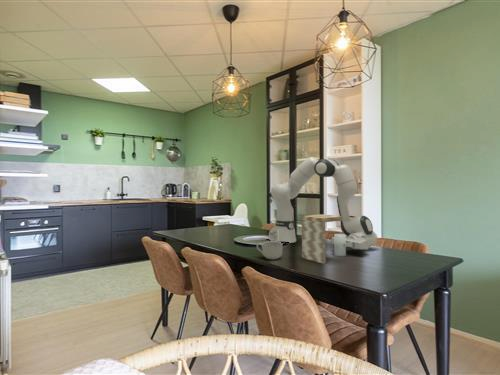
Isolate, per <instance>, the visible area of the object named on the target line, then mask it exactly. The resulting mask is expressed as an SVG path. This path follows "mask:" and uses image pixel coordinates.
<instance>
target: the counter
mask: <svg viewBox="0 0 500 375" xmlns="http://www.w3.org/2000/svg"><path fill="white" fill-rule="evenodd" d="M339 221H340V222H341V221H342V216H340V215H331V214H324V213H321V214H320V213H318V214H308V215H307V214H306V215H301V259H306V260H308V261H312V262H316V263H320V264H323V265H325V264H326V263H327V262H326V223H330V222H339Z"/></svg>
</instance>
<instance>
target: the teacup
mask: <svg viewBox="0 0 500 375" xmlns="http://www.w3.org/2000/svg"><path fill="white" fill-rule="evenodd" d="M283 244H284V243H281V242H277V241H269V240H266V241H263V242H258V243H257V244H256V249H257V250H258V251H259V252H260V253H261V254H262V255H263V257H264V258H265V259H267V260H272V261H273V260H274V261H275V260H278V259H280V258H281V257H282V255H283ZM259 246H260V247H261V248H262V249H261V248H260V247H259Z"/></svg>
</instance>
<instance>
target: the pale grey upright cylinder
mask: <svg viewBox="0 0 500 375" xmlns="http://www.w3.org/2000/svg"><path fill="white" fill-rule="evenodd" d="M333 237H334V244H333V245H334V249H333V250H334V252H333V253H334V256H336V257H345V256H347V247H344V246H343V244H344V243H346V237H347V235H345V234H344V233H334V236H333Z"/></svg>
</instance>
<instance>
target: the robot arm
mask: <svg viewBox="0 0 500 375" xmlns="http://www.w3.org/2000/svg"><path fill="white" fill-rule="evenodd" d="M315 175H317V176H319V177H322V178H329V177H332V178H333V179H334V181H335V182H336V186H337V195H336V203H337V209H338V214H339V215H338V216H342V221H340V230H341V232H342V234H345V235H346V243H344V244H343V246H344V247H346V248H350V249H352V250H365V251H366V250H367V251H368V250H369V248H370V247H372V246H374V245H375V244H376V243H377V242H378V235H377V233H376V232H375V231H374V229H373V228H374V227H373V223H372V221H371V220H370V218H369V217H367V216H366V215H360V216H356V217H352V218H351V217H350V212H349V207H348V203H349V201H350V200H351V199H352V198H353V197H354V196H355V195H356V194H357V192H358V188H359V187H358V183H357V181H356V178H355V175H354V173H353V170H352V169H351V168H350V166H349V165H348V164H340V165H339V163H338V162H337V161H336V160H334V159H330V158H321V159H317V158H316V157H313V156H310V157H307V158H306V159H305V160H304V161H303V162H301V163H300V164H299V165H298V166H297V167H296V168H294V170H293V171H292V172H291V173H290V176H289V179H288V180H287V181H286V182H285V183H277V184H274V185H273V186H272V188H271V190H270V195H271V197H272V198H273V199H274V203H275V206H276V220H275V221H274V224H275V225H274V226H273V227H272V228H271V229H270V230H269V233H268V237H269V238H267V237H266V238H267V239H274V240H277V241H288V242H289V243H288V244H291V243H296V242H297V237H296V229H295V220H294V218H295V217H294V215H295V214H294V207H293V206H292V203H291V200H293V199H295V198H296V197H298V196H299V192H300V191H301V189H302V188H303V186H304V185H305V184H307V183H308V182H309V181H310V179H311V178H312V177H314V176H315ZM331 244H332V245H334V236H332V237H331Z"/></svg>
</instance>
